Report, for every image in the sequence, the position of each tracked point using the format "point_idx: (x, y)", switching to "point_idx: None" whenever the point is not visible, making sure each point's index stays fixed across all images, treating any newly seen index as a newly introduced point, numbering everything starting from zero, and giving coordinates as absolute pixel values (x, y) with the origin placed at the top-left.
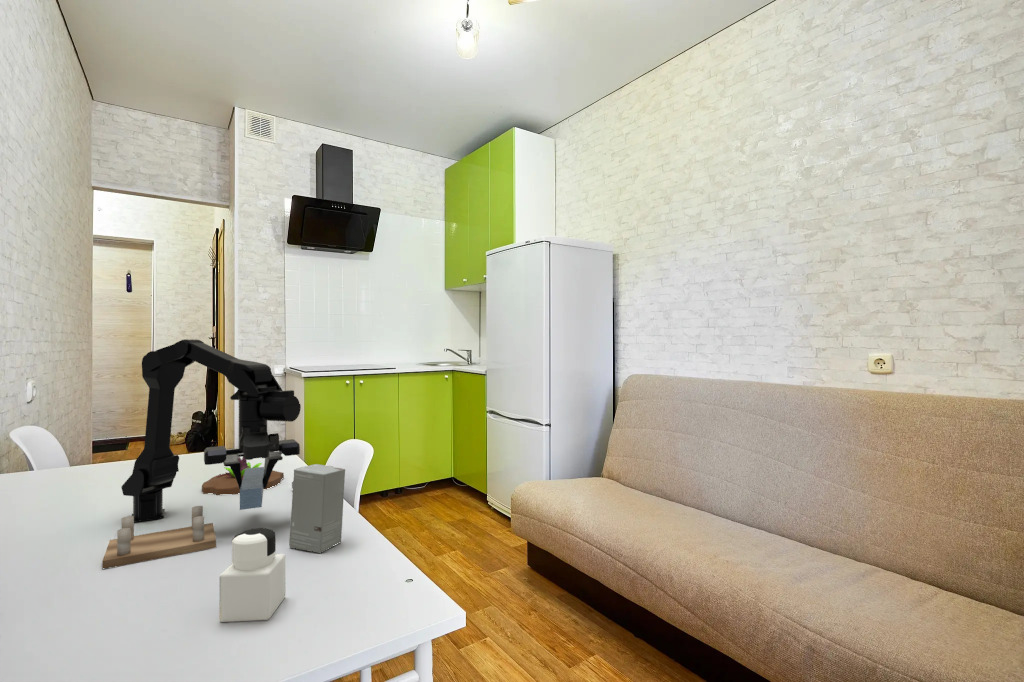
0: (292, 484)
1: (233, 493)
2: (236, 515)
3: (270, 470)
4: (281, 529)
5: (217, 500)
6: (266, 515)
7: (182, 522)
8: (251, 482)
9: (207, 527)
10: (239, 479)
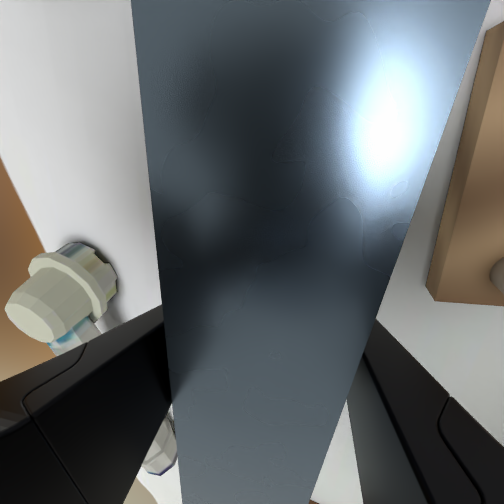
0: (174, 457)
1: (309, 502)
2: None
3: (52, 368)
4: None
5: (351, 490)
6: None
7: (490, 406)
8: (278, 178)
9: (474, 255)
10: (397, 375)
